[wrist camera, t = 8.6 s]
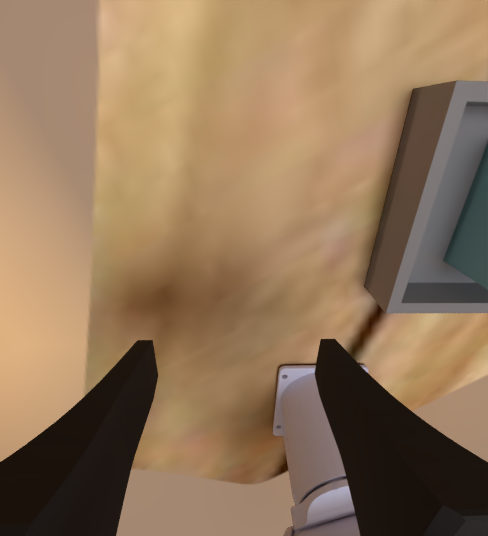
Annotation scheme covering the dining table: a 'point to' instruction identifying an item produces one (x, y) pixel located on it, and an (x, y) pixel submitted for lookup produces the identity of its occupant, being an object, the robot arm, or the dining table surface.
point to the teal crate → (473, 230)
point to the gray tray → (430, 203)
